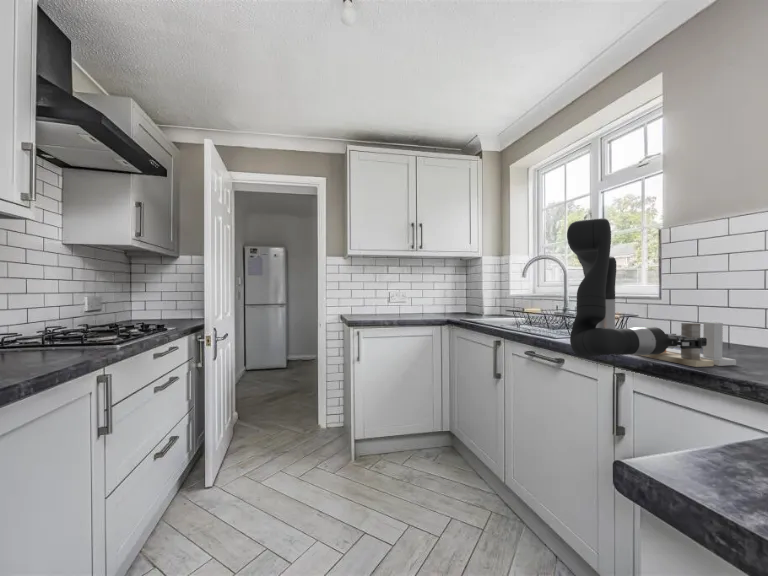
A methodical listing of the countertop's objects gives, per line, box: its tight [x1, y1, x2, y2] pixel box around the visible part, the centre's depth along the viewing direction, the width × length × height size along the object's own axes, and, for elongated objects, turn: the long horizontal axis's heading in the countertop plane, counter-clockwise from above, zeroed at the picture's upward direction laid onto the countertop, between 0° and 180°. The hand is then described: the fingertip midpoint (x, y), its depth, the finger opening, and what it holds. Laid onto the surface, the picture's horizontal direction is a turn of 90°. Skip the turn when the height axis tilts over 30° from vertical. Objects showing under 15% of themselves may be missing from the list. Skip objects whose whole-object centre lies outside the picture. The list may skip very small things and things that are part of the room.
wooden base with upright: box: [639, 322, 715, 368], centre depth 116 cm, size 22×6×12 cm, turn 13°
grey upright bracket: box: [666, 321, 737, 367], centre depth 118 cm, size 22×6×12 cm, turn 13°
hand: (689, 339), depth 110 cm, fingers open, 8 cm apart
